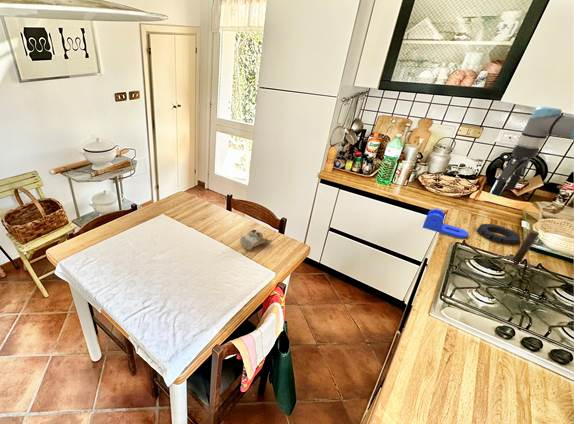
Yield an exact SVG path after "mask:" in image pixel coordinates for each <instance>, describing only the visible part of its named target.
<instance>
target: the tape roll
mask: <svg viewBox="0 0 574 424" xmlns="http://www.w3.org/2000/svg"><path fill="white" fill-rule="evenodd" d="M477 233H478V235H479V236H481V237H483V238H485V239H487V240H490V241H491V242H494V243H497V244H501V245H507V246H513V245H517V244H518V243H519V242H520V240H521V235H520V234H518V233H517V232H515V230H512V229H510V228H508V227H507V228H506V227H505V226H502V225H498V224H493V223H481V224H479V227H478V228H477ZM495 233H498V234H495ZM499 234H501V235H499Z"/></svg>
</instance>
